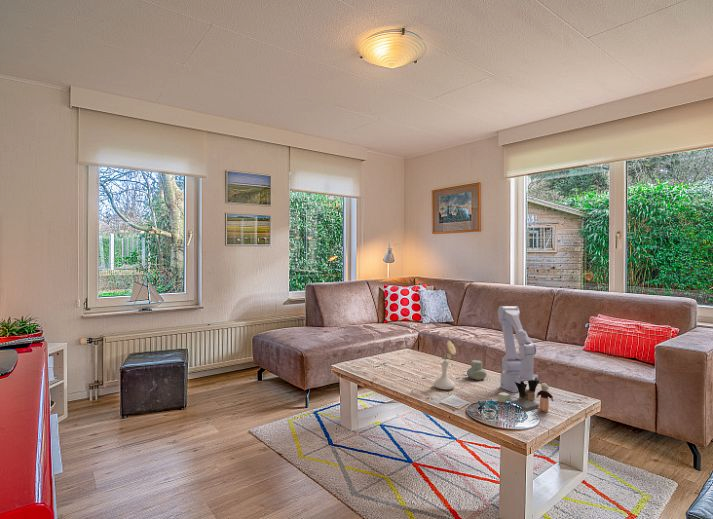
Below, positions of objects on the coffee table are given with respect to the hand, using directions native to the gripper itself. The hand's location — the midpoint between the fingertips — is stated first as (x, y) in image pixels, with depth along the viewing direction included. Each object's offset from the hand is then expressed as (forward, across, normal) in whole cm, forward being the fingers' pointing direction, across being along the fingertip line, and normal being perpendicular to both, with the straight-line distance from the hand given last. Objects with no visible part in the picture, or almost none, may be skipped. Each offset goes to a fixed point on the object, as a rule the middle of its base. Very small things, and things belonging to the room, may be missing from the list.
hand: (526, 395), depth 198 cm
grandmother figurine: (+2, -6, -14) cm, 15 cm away
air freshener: (+2, +4, +36) cm, 36 cm away
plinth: (+2, -10, -5) cm, 11 cm away
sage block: (+2, -13, +3) cm, 14 cm away
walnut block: (+2, 0, 0) cm, 2 cm away
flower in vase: (+2, -23, +33) cm, 40 cm away
